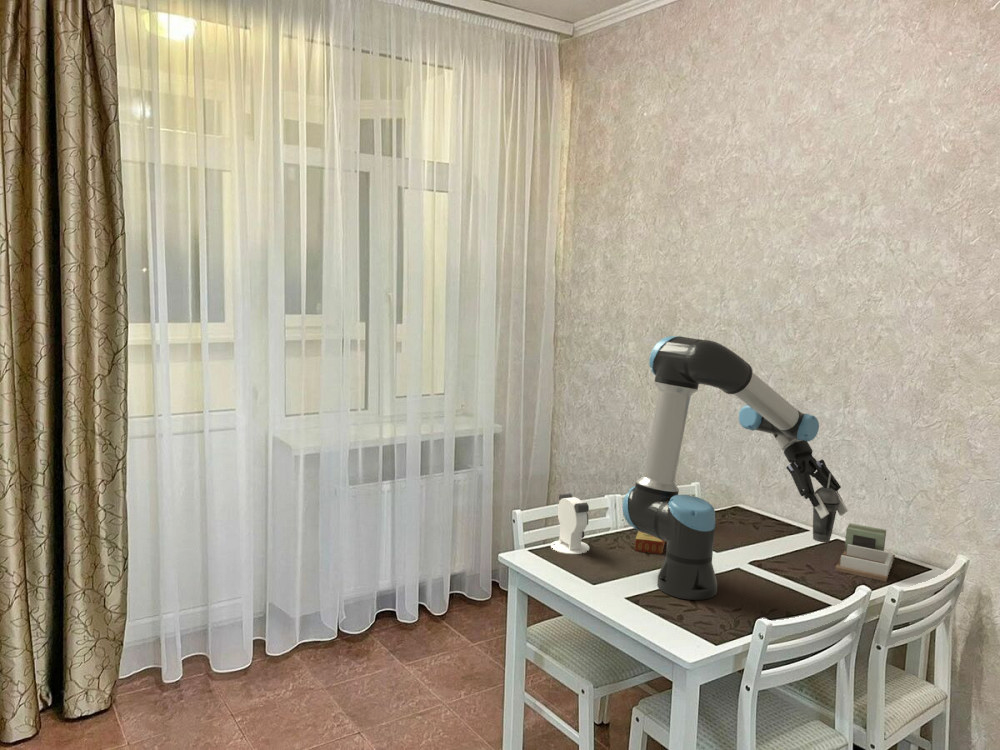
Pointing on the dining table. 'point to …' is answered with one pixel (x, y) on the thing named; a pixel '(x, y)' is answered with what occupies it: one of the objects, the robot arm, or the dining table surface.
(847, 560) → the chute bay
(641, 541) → the carton
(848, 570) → the desk organizer
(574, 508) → the white upright piece
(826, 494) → the beverage cup
